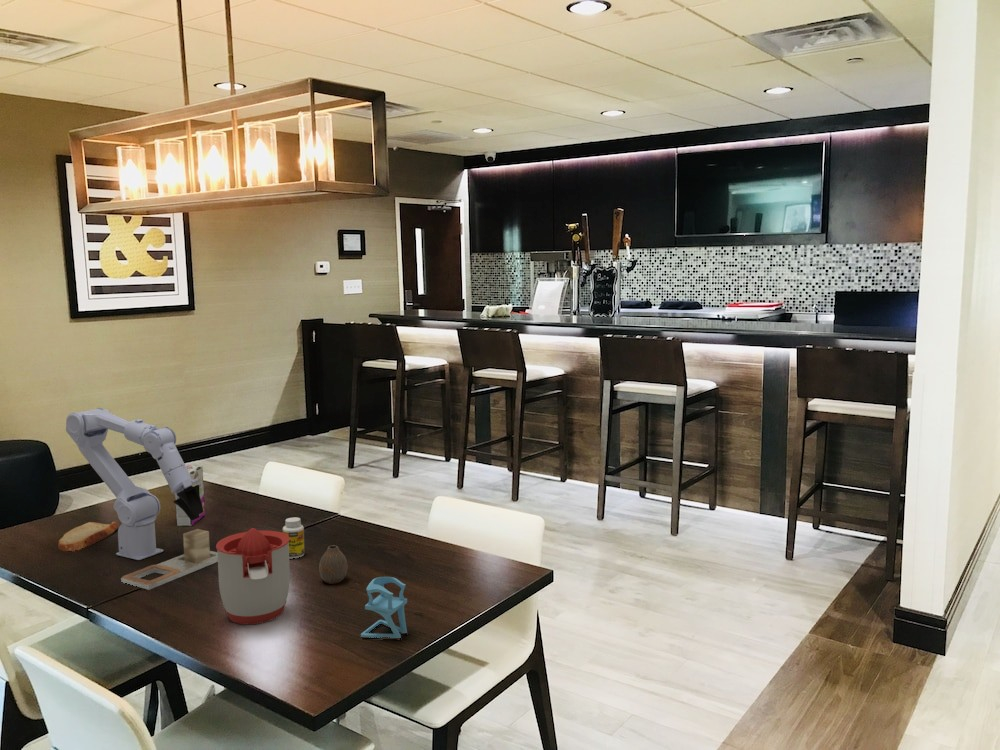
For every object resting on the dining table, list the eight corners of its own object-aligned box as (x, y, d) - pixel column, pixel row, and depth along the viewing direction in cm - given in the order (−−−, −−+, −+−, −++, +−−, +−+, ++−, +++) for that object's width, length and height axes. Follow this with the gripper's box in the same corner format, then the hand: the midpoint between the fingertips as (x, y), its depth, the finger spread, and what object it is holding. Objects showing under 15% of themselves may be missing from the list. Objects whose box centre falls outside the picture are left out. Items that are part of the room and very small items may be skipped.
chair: (394, 645, 159) (394, 589, 157) (359, 638, 162) (359, 583, 161) (413, 630, 166) (412, 576, 164) (379, 623, 169) (378, 570, 168)
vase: (352, 577, 195) (352, 543, 194) (338, 587, 189) (337, 552, 188) (329, 574, 197) (328, 540, 196) (314, 584, 191) (313, 549, 190)
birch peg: (184, 562, 206) (183, 533, 205) (198, 557, 210) (196, 528, 209) (196, 565, 204) (195, 536, 203) (210, 560, 207) (208, 531, 206)
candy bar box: (190, 515, 247) (187, 465, 245) (205, 515, 247) (203, 465, 245) (175, 526, 236) (172, 473, 234) (191, 526, 236) (189, 473, 234)
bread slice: (63, 555, 213) (62, 541, 212) (48, 538, 226) (47, 526, 226) (132, 540, 224) (131, 528, 224) (114, 525, 238) (113, 514, 237)
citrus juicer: (222, 638, 162) (218, 546, 159) (216, 607, 178) (212, 522, 175) (298, 625, 168) (295, 536, 166) (286, 596, 184) (283, 514, 181)
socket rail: (121, 582, 192) (121, 576, 192) (199, 552, 213) (198, 547, 213) (148, 589, 187) (148, 584, 187) (225, 558, 209) (225, 553, 208)
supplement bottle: (287, 561, 207) (285, 523, 206) (280, 554, 211) (279, 518, 210) (307, 556, 210) (306, 520, 209) (300, 551, 214) (299, 515, 213)
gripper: (193, 457, 201) (216, 504, 200) (186, 470, 213) (208, 514, 212) (166, 469, 197) (189, 517, 196) (160, 481, 209) (182, 526, 208)
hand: (197, 516), depth 203 cm, fingers open, 7 cm apart
